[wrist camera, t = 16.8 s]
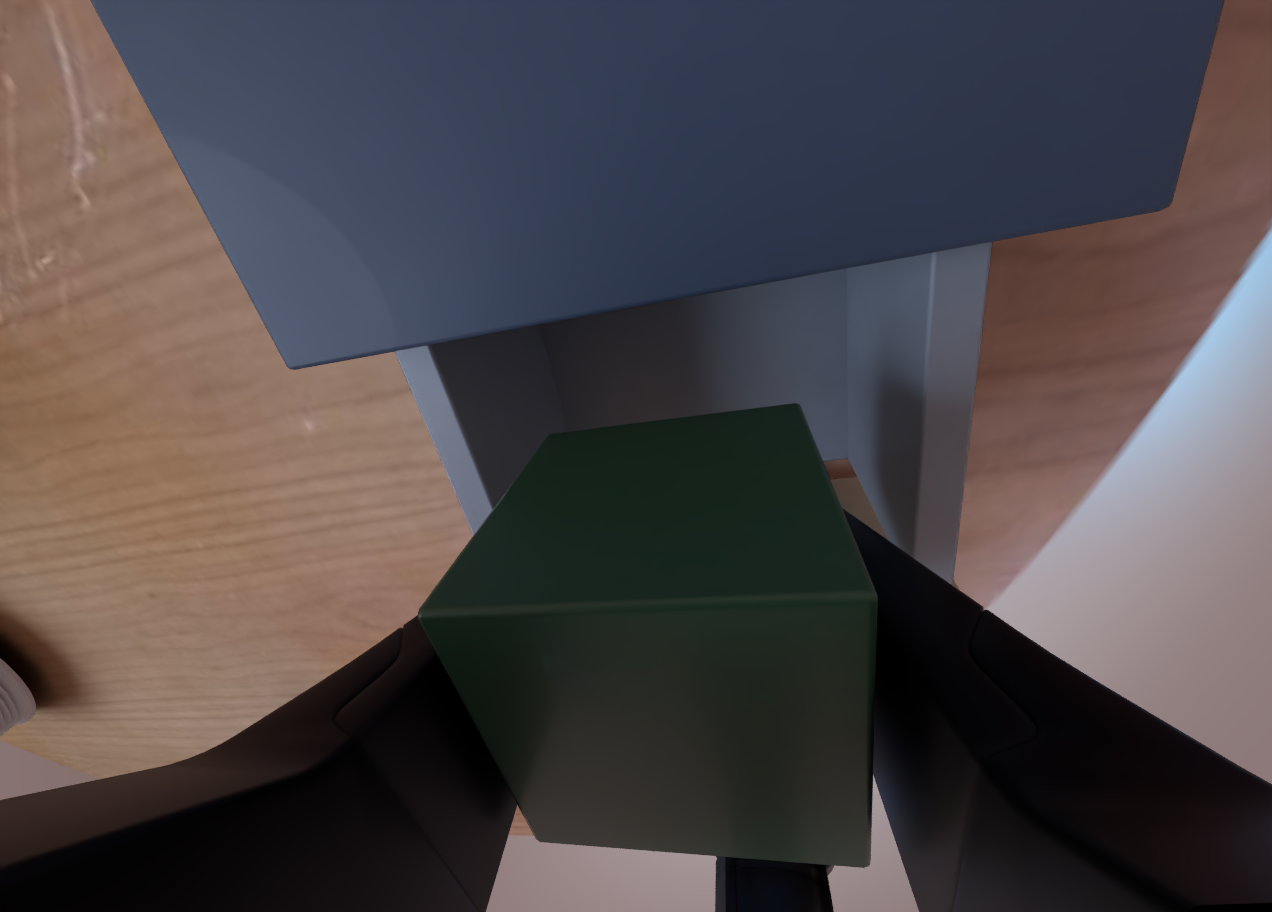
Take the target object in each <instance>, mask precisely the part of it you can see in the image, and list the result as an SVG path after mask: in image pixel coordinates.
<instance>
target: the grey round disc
mask: <svg viewBox="0 0 1272 912" xmlns="http://www.w3.org/2000/svg"><path fill="white" fill-rule="evenodd" d="M35 712H36V704H35V700H34V698H33V696H32V694H31V692H30V690H29V689H28V687H27V686H26V684H25V683H24V682H23V681H22V679H21V678H20V677H19V676H18V675H17V674H16V673H15V672H14V671H13V670H12V669H11V668H10V667H9V666H8V665H7V664H6V663H5V662H4V661H3V660H2V659H1V658H0V736H1V735H2V734H3V733H5V732H6V731H8V730H9V729H10V728H12V727H13V726H15V725H18V724H22V723H25V722H27V721H28V720H30V719H31V718H32V717H33V716H34V715H35Z"/></svg>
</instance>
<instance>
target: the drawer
mask: <svg viewBox="0 0 1272 912" xmlns="http://www.w3.org/2000/svg"><path fill="white" fill-rule="evenodd" d="M991 250H992V242H988V243H983V244H977V245H972V246H966V247H961V248H955V249H950V250H944V251H939V252H933V253H928V254H923V255H917V256H912V257H906V258H901V259H895V260H890V261H884V262H879V263H874V264H868V265H863V266H857V267H852V268H846V269H841V270H835V271H830V272H824V273H819V274H814V275H808V276H803V277H797V278H792V279H786V280H781V281H775V282H770V283H765V284H759V285H754V286H748V287H743V288H737V289H732V290H726V291H721V292H715V293H710V294H705V295H699V296H694V297H688V298H683V299H677V300H672V301H666V302H661V303H655V304H650V305H645V306H639V307H634V308H628V309H623V310H617V311H612V312H606V313H601V314H596V315H590V316H585V317H579V318H574V319H568V320H563V321H557V322H552V323H546V324H541V325H536V326H530V327H525V328H519V329H514V330H508V331H503V332H497V333H492V334H487V335H481V336H476V337H470V338H465V339H459V340H454V341H448V342H443V343H437V344H432V345H427V346H421V347H416V348H410V349H405V350H399V351H395V354H396V356H397V358H398V361H399V363H400V365H401V368H402V370H403V372H404V375H405V377H406V379H407V382H408V384H409V386H410V389H411V391H412V393H413V396H414V398H415V400H416V403H417V405H418V407H419V410H420V412H421V414H422V417H423V419H424V421H425V424H426V426H427V428H428V431H429V433H430V435H431V438H432V440H433V442H434V445H435V447H436V449H437V452H438V454H439V456H440V459H441V461H442V463H443V466H444V468H445V470H446V473H447V475H448V477H449V479H450V482H451V484H452V486H453V489H454V491H455V493H456V496H457V498H458V500H459V503H460V505H461V507H462V510H463V512H464V514H465V517H466V519H467V521H468V524H469V526H470V528H471V531H472V533H473V535H474V534H475V533H476V532H477V530H478V529H479V528H480V526H481V525H482V523H483V522H484V521H485V519H486V518H487V517H488V515H489V514H490V513H491V511H492V510H493V509H494V507H495V506H496V504H497V503H498V502H499V500H500V499H501V498H502V496H503V495H504V494H505V492H506V491H507V490H508V488H509V487H510V486H511V484H512V483H513V481H514V480H515V479H516V477H517V476H518V475H519V473H520V472H521V471H522V469H523V468H524V467H525V465H526V464H527V462H528V461H529V460H530V458H531V457H532V456H533V454H534V453H535V452H536V450H537V449H538V448H539V446H540V445H541V444H542V442H543V441H544V439H545V438H546V437H547V436H548V435H549V434H554V433H562V432H570V431H578V430H586V429H594V428H602V427H610V426H618V425H625V424H633V423H641V422H649V421H657V420H665V419H673V418H681V417H689V416H697V415H705V414H713V413H720V412H728V411H736V410H744V409H752V408H760V407H768V406H776V405H784V404H792V403H797V404H800V406H801V408H802V410H803V413H804V415H805V418H806V420H807V423H808V425H809V428H810V430H811V433H812V435H813V438H814V440H815V442H816V445H817V447H818V450H819V452H820V455H821V457H822V460H823V461H829V460H840V459H848V460H849V462H850V464H851V466H852V468H853V470H854V472H855V474H856V476H857V477H852V478H841V479H830V480H831V482H832V485H833V487H834V489H835V492H836V494H837V497H838V499H839V502H840V504H841V507H842V508H843V509H844V510H846V511H847V512H849V513H850V514H852V515H853V516H854V517H856V518H857V519H859V520H860V521H862V522H863V523H864V524H866V525H867V526H869V527H870V528H872V529H873V530H874V531H876V532H877V533H879V534H880V535H881V536H883V537H884V538H886V539H887V540H889V541H890V542H891V543H893V544H894V545H896V546H897V547H899V548H900V549H901V550H903V551H904V552H906V553H907V554H909V555H910V556H911V557H913V558H914V559H916V560H917V561H918V562H920V563H921V564H923V565H924V566H926V567H927V568H928V569H930V570H931V571H933V572H934V573H936V574H937V575H938V576H940V577H941V578H943V579H944V580H946V581H947V582H948V583H950V584H951V585H953V586H954V587H955V588H957V589H958V590H959V588H958V586H957V585H956V583H955V582H954V580H953V577H954V569H955V560H956V552H957V543H958V534H959V526H960V517H961V509H962V500H963V491H964V483H965V474H966V465H967V457H968V448H969V440H970V431H971V422H972V414H973V405H974V397H975V388H976V379H977V371H978V362H979V354H980V345H981V336H982V328H983V319H984V311H985V302H986V293H987V285H988V276H989V267H990V259H991Z"/></svg>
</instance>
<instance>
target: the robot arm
mask: <svg viewBox="0 0 1272 912" xmlns="http://www.w3.org/2000/svg"><path fill="white" fill-rule="evenodd" d="M842 509H843V508H842ZM843 512H844V514H845V517H846V519H847V522H848V524H849V527H850V529H851V531H852V534H853V536H854V539H855V541H856V544H857V546H858V549H859V551H860V554H861V556H862V559H863V561H864V564H865V566H866V569H867V571H868V574H869V576H870V578H871V581H872V583H873V586H874V588H875V591H876V593H877V596H878V607H877V644H876V681H875V717H874V754H873V775H874V778H875V781H876V784H877V787H878V790H879V793H880V796H881V799H882V802H883V805H884V808H885V811H886V813H887V817H888V820H889V823H890V826H891V829H892V832H893V835H894V837H895V841H896V844H897V847H898V850H899V853H900V856H901V859H902V862H903V865H904V868H905V870H906V874H907V876H908V880H909V883H910V885H911V888H912V891H913V894H914V897H915V900H916V903H917V906H918V909H919V912H1272V784H1270V783H1269V782H1267V781H1265V780H1263V779H1261V778H1260V777H1258V776H1256V775H1254V774H1252V773H1251V772H1249V771H1247V770H1245V769H1243V768H1242V767H1240V766H1238V765H1237V764H1235V763H1233V762H1232V761H1230V760H1228V759H1226V758H1225V757H1223V756H1222V755H1220V754H1218V753H1216V752H1215V751H1213V750H1211V749H1210V748H1208V747H1206V746H1205V745H1203V744H1201V743H1200V742H1198V741H1196V740H1195V739H1193V738H1191V737H1190V736H1188V735H1186V734H1184V733H1183V732H1181V731H1179V730H1178V729H1176V728H1174V727H1172V726H1171V725H1169V724H1168V723H1166V722H1164V721H1163V720H1161V719H1159V718H1157V717H1156V716H1154V715H1152V714H1151V713H1149V712H1147V711H1146V710H1144V709H1142V708H1141V707H1139V706H1137V705H1136V704H1134V703H1132V702H1131V701H1129V700H1127V699H1126V698H1124V697H1122V696H1121V695H1119V694H1117V693H1116V692H1114V691H1112V690H1110V689H1109V688H1107V687H1105V686H1104V685H1102V684H1100V683H1099V682H1097V681H1096V680H1094V679H1092V678H1091V677H1089V676H1087V675H1086V674H1084V673H1083V672H1081V671H1079V670H1078V669H1076V668H1074V667H1073V666H1071V665H1070V664H1068V663H1066V662H1065V661H1063V660H1061V659H1060V658H1058V657H1056V656H1055V655H1053V654H1052V653H1050V652H1049V651H1047V650H1046V649H1044V648H1043V647H1041V646H1040V645H1038V644H1037V643H1035V642H1034V641H1032V640H1031V639H1029V638H1028V637H1026V636H1025V635H1023V634H1022V633H1020V632H1019V631H1017V630H1016V629H1014V628H1013V627H1011V626H1010V625H1009V624H1007V623H1005V622H1004V621H1003V620H1001V619H1000V618H999V617H997V616H996V615H994V614H993V613H991V612H990V611H988V610H984V609H983V607H982V606H981V605H980V604H978V603H977V602H975V601H974V600H973V599H971V598H970V597H968V596H967V595H965V594H964V593H963V592H961V591H960V590H958V589H957V588H955V587H954V586H953V585H951V584H950V583H948V582H947V581H946V580H944V579H943V578H941V577H940V576H938V575H937V574H936V573H934V572H933V571H931V570H930V569H928V568H927V567H926V566H924V565H923V564H921V563H920V562H918V561H917V560H916V559H914V558H913V557H911V556H910V555H909V554H907V553H906V552H904V551H903V550H901V549H900V548H899V547H897V546H896V545H894V544H893V543H891V542H890V541H889V540H887V539H886V538H884V537H883V536H881V535H880V534H879V533H877V532H876V531H874V530H873V529H872V528H870V527H869V526H867V525H866V524H864V523H863V522H862V521H860V520H859V519H857V518H856V517H854V516H853V515H852V514H850V513H849V512H847V511H846V510H844V509H843ZM983 610H984V611H983ZM516 807H517V803H516V801H515V799H514V797H513V795H512V793H511V791H510V790H509V788H508V786H507V784H506V782H505V780H504V778H503V776H502V775H501V773H500V771H499V769H498V767H497V765H496V763H495V761H494V760H493V758H492V756H491V754H490V752H489V750H488V748H487V747H486V745H485V743H484V741H483V739H482V737H481V735H480V733H479V732H478V730H477V728H476V726H475V724H474V722H473V720H472V718H471V717H470V715H469V713H468V711H467V709H466V707H465V705H464V703H463V702H462V700H461V698H460V696H459V694H458V692H457V690H456V689H455V687H454V685H453V683H452V681H451V679H450V677H449V675H448V674H447V672H446V670H445V668H444V666H443V664H442V662H441V660H440V659H439V657H438V655H437V653H436V651H435V649H434V647H433V645H432V644H431V642H430V640H429V638H428V636H427V634H426V632H425V631H424V629H423V627H422V625H421V623H420V621H419V619H418V615H417V616H416V617H415V618H413V619H412V620H410V621H409V622H407V623H406V624H405V625H404V626H403V628H399V629H397V630H396V631H395V632H393V633H392V634H390V635H389V636H388V637H386V638H385V639H383V640H382V641H381V642H379V643H378V644H376V645H375V646H373V647H372V648H370V649H369V650H368V651H366V652H365V653H363V654H362V655H360V656H359V657H357V658H356V659H354V660H353V661H352V662H350V663H348V664H347V665H345V666H344V667H342V668H341V669H339V670H338V671H336V672H335V673H333V674H331V675H330V676H328V677H327V678H325V679H324V680H322V681H321V682H319V683H318V684H316V685H314V686H313V687H311V688H310V689H308V690H307V691H305V692H303V693H302V694H300V695H299V696H297V697H295V698H294V699H292V700H291V701H289V702H288V703H286V704H284V705H283V706H281V707H280V708H278V709H277V710H275V711H273V712H272V713H270V714H269V715H267V716H265V717H264V718H262V719H261V720H259V721H258V722H256V723H254V724H253V725H251V726H250V727H248V728H247V729H245V730H243V731H242V732H240V733H239V734H237V735H235V736H234V737H232V738H230V739H229V740H227V741H225V742H224V743H222V744H220V745H218V746H216V747H214V748H212V749H210V750H208V751H206V752H203V753H201V754H198V755H196V756H194V757H191V758H189V759H186V760H183V761H179V762H176V763H173V764H170V765H166V766H162V767H157V768H152V769H148V770H143V771H138V772H133V773H128V774H124V775H119V776H114V777H109V778H104V779H100V780H95V781H90V782H85V783H80V784H76V785H71V786H66V787H61V788H57V789H51V790H47V791H42V792H37V793H32V794H28V795H23V796H18V797H13V798H8V799H4V800H0V912H486V909H487V905H488V902H489V898H490V895H491V892H492V888H493V885H494V882H495V878H496V874H497V872H498V868H499V865H500V861H501V858H502V854H503V851H504V848H505V844H506V841H507V838H508V834H509V831H510V828H511V824H512V821H513V817H514V814H515V811H516ZM830 866H831V865H825V864H812V863H799V862H787V861H774V860H762V859H749V858H737V857H724V856H719V857H718V858H717V860H716V904H715V912H833V905H832V899H831V893H830V886H829V880H828V874H827V869H828V868H829V867H830Z"/></svg>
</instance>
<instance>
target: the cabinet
mask: <svg viewBox="0 0 1272 912" xmlns="http://www.w3.org/2000/svg"><path fill="white" fill-rule="evenodd" d="M91 2H92V4H93V6H94V8H95V10H96V12H97V13H98V15H99V17H100V19H101V21H102V23H103V25H104V27H105V28H106V30H107V32H108V34H109V36H110V38H111V40H112V41H113V43H114V45H115V47H116V49H117V51H118V53H119V54H120V56H121V58H122V60H123V62H124V64H125V66H126V67H127V69H128V71H129V73H130V75H131V77H132V79H133V81H134V82H135V84H136V86H137V88H138V90H139V92H140V94H141V95H142V97H143V99H144V101H145V103H146V105H147V107H148V108H149V110H150V112H151V114H152V116H153V118H154V120H155V121H156V123H157V125H158V127H159V129H160V131H161V133H162V135H163V136H164V138H165V140H166V142H167V144H168V146H169V148H170V149H171V151H172V153H173V155H174V157H175V159H176V161H177V162H178V164H179V166H180V168H181V170H182V172H183V174H184V176H185V177H186V179H187V181H188V183H189V185H190V187H191V189H192V190H193V192H194V194H195V196H196V198H197V200H198V202H199V203H200V205H201V207H202V209H203V211H204V213H205V215H206V216H207V218H208V220H209V222H210V224H211V226H212V228H213V230H214V231H215V233H216V235H217V237H218V239H219V241H220V243H221V244H222V246H223V248H224V250H225V252H226V254H227V256H228V257H229V259H230V261H231V263H232V265H233V267H234V269H235V270H236V272H237V274H238V276H239V278H240V280H241V282H242V284H243V285H244V287H245V289H246V291H247V293H248V295H249V297H250V298H251V300H252V302H253V304H254V306H255V308H256V310H257V311H258V313H259V315H260V317H261V319H262V321H263V323H264V325H265V326H266V328H267V330H268V332H269V334H270V336H271V338H272V339H273V341H274V343H275V345H276V347H277V349H278V351H279V352H280V354H281V356H282V358H283V360H284V362H285V364H286V365H287V367H288V368H289V369H295V370H296V369H301V368H307V367H312V366H318V365H323V364H328V363H334V362H339V361H345V360H350V359H356V358H361V357H367V356H372V355H378V354H383V353H388V352H394V351H399V350H405V349H410V348H416V347H421V346H427V345H432V344H437V343H443V342H448V341H454V340H459V339H465V338H470V337H476V336H481V335H487V334H492V333H497V332H503V331H508V330H514V329H519V328H525V327H530V326H536V325H541V324H546V323H552V322H557V321H563V320H568V319H574V318H579V317H585V316H590V315H596V314H601V313H606V312H612V311H617V310H623V309H628V308H634V307H639V306H645V305H650V304H655V303H661V302H666V301H672V300H677V299H683V298H688V297H694V296H699V295H705V294H710V293H715V292H721V291H726V290H732V289H737V288H743V287H748V286H754V285H759V284H765V283H770V282H775V281H781V280H786V279H792V278H797V277H803V276H808V275H814V274H819V273H824V272H830V271H835V270H841V269H846V268H852V267H857V266H863V265H868V264H874V263H879V262H884V261H890V260H895V259H901V258H906V257H912V256H917V255H923V254H928V253H933V252H939V251H944V250H950V249H955V248H961V247H966V246H972V245H977V244H983V243H988V242H993V241H999V240H1004V239H1010V238H1015V237H1021V236H1026V235H1032V234H1037V233H1042V232H1048V231H1053V230H1059V229H1064V228H1070V227H1075V226H1081V225H1086V224H1092V223H1097V222H1102V221H1108V220H1113V219H1119V218H1124V217H1130V216H1135V215H1141V214H1146V213H1152V212H1157V211H1160V210H1162V209H1165V208H1167V207H1169V206H1170V204H1171V202H1172V200H1173V196H1174V193H1175V189H1176V185H1177V181H1178V177H1179V173H1180V169H1181V166H1182V162H1183V158H1184V154H1185V150H1186V146H1187V142H1188V139H1189V135H1190V131H1191V127H1192V123H1193V119H1194V115H1195V112H1196V108H1197V104H1198V100H1199V96H1200V92H1201V89H1202V85H1203V81H1204V77H1205V73H1206V69H1207V65H1208V62H1209V58H1210V54H1211V50H1212V46H1213V42H1214V38H1215V35H1216V31H1217V27H1218V23H1219V19H1220V15H1221V11H1222V8H1223V4H1224V0H91Z"/></svg>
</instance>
